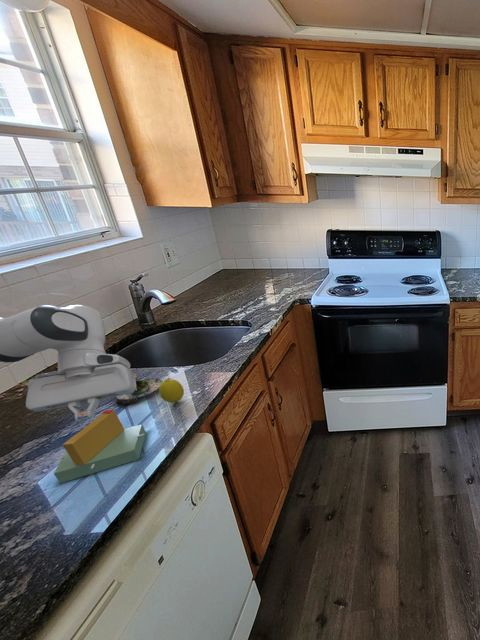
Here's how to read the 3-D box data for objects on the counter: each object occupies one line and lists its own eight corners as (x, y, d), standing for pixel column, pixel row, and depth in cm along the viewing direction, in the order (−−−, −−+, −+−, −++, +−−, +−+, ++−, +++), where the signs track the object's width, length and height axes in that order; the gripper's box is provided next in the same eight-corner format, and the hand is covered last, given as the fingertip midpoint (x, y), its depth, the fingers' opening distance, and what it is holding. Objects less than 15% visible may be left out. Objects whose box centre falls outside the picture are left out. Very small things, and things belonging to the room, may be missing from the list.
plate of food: (136, 406, 106) (126, 385, 103) (106, 402, 108) (94, 380, 105) (174, 384, 116) (165, 364, 113) (145, 381, 119) (136, 361, 116)
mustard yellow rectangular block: (84, 464, 81) (71, 443, 78) (75, 465, 81) (61, 443, 78) (124, 429, 92) (114, 409, 89) (116, 430, 92) (105, 409, 89)
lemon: (180, 395, 111) (171, 372, 107) (191, 399, 108) (182, 376, 105) (160, 405, 106) (150, 382, 103) (171, 410, 104) (161, 386, 100)
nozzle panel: (49, 493, 78) (41, 483, 76) (73, 448, 90) (67, 438, 89) (143, 464, 85) (137, 454, 83) (153, 426, 98) (148, 416, 96)
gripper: (18, 372, 86) (17, 429, 82) (125, 354, 94) (128, 405, 90) (37, 379, 92) (37, 433, 88) (137, 361, 99) (141, 410, 95)
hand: (84, 419), depth 89 cm, fingers closed
